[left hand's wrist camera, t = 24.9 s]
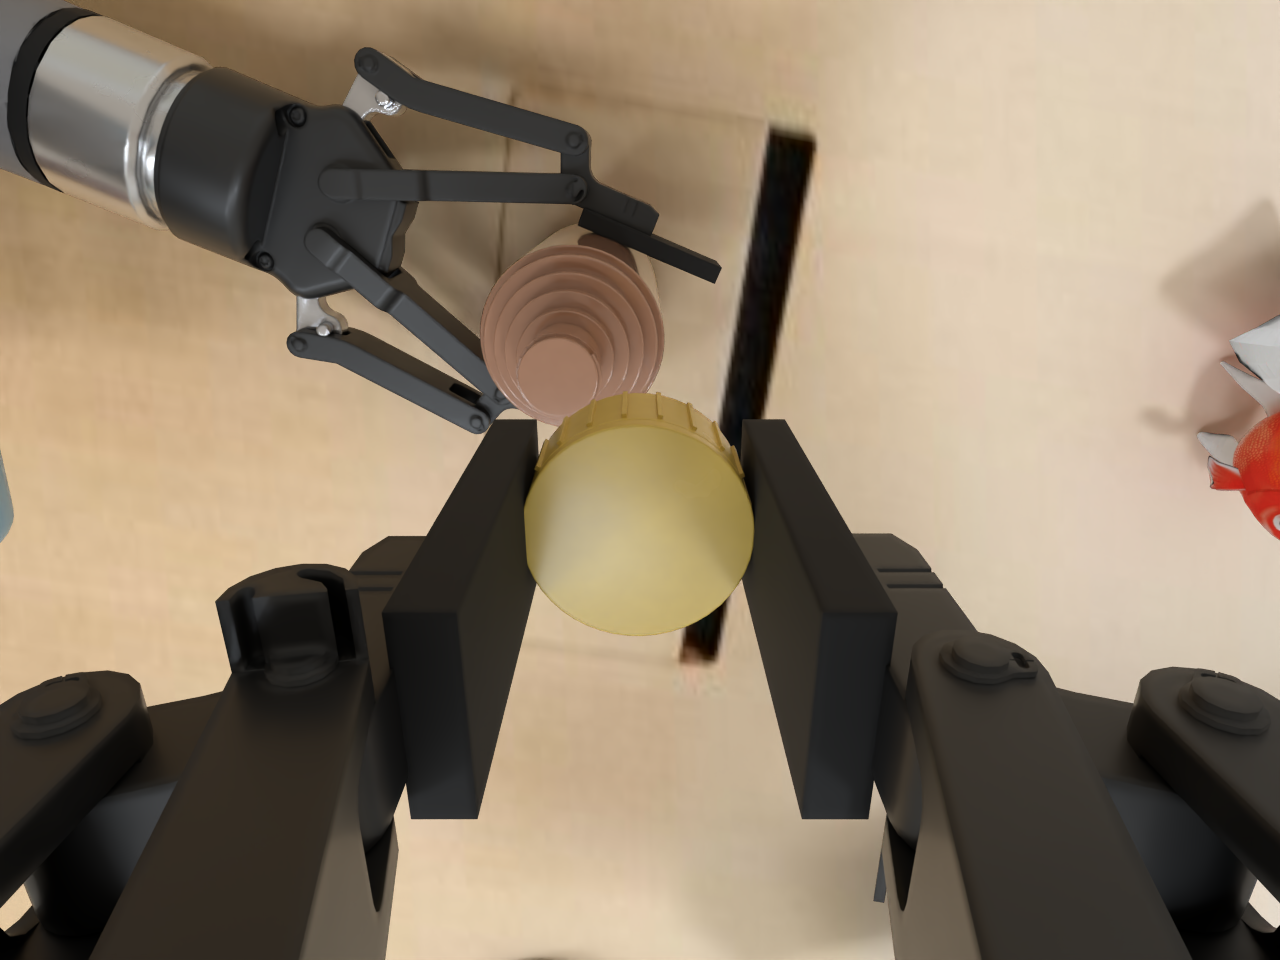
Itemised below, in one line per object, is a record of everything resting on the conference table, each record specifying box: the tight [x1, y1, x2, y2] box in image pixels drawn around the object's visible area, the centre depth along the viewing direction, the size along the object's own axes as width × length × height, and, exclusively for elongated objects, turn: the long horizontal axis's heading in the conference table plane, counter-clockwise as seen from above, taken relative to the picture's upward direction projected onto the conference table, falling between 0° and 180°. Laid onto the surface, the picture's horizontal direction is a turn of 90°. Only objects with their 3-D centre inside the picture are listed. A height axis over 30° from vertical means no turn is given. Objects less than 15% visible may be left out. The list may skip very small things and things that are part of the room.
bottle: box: [480, 223, 664, 426], centre depth 33 cm, size 7×7×18 cm
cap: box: [524, 391, 754, 636], centre depth 13 cm, size 4×4×2 cm
